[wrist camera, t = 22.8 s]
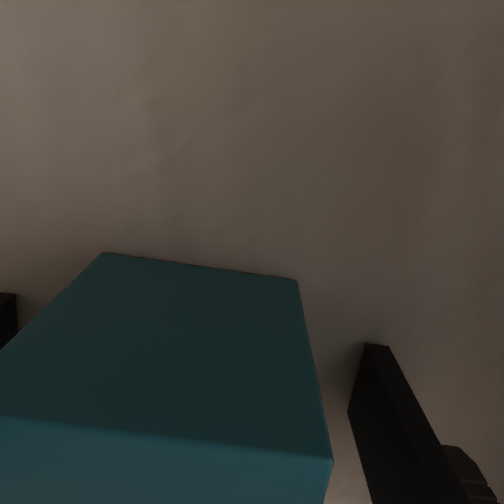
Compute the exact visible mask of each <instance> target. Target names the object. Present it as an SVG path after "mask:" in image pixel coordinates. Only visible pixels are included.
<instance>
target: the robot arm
mask: <svg viewBox="0 0 504 504" xmlns="http://www.w3.org/2000/svg"><path fill="white" fill-rule="evenodd" d="M17 334H18V329H17V304H16V295H15V294H8V293H0V350H1V349H2V348H3V347H4V346H5V345H6V344H7V343H8V342H9V341H10V340H11V339H12V338H14V337H15V336H16V335H17ZM347 414H348V418H349V421H350V425H351V428H352V432H353V436H354V439H355V443H356V446H357V450H358V453H359V457H360V461H361V464H362V468H363V471H364V475H365V478H366V482H367V486H368V489H369V493H370V496H371V500H372V503H373V504H500V503H498V502H497V498H496V496H495V494H494V493H493V491H492V489H491V488H490V487H489V486H488V485H487V481H486V479H485V478H484V476H483V474H482V473H481V471H480V469H479V468H478V466H477V464H476V463H475V462H474V461H473V460H472V459H471V458H470V457H469V456H468V455H467V454H466V453H465V452H464V451H463V450H462V449H461V448H460V447H456V446H449V445H441V444H440V443H439V441H438V439H437V437H436V435H435V433H434V431H433V429H432V427H431V426H430V424H429V422H428V420H427V418H426V416H425V414H424V412H423V410H422V408H421V407H420V405H419V403H418V401H417V399H416V397H415V395H414V393H413V391H412V389H411V388H410V386H409V384H408V382H407V380H406V378H405V376H404V374H403V372H402V370H401V369H400V367H399V365H398V363H397V361H396V359H395V357H394V355H393V353H392V352H391V350H390V348H389V346H383V345H376V344H368V343H365V347H364V351H363V354H362V358H361V362H360V366H359V369H358V373H357V377H356V380H355V384H354V388H353V391H352V395H351V399H350V402H349V406H348V410H347Z"/></svg>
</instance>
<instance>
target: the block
mask: <svg viewBox="0 0 504 504" xmlns="http://www.w3.org/2000/svg"><path fill="white" fill-rule="evenodd" d="M333 463H334V459H333V454H332V449H331V444H330V439H329V434H328V429H327V425H326V420H325V415H324V410H323V405H322V400H321V395H320V391H319V386H318V381H317V376H316V371H315V366H314V361H313V357H312V352H311V347H310V342H309V337H308V332H307V327H306V322H305V318H304V313H303V308H302V303H301V298H300V293H299V288H298V284H297V281H296V280H291V279H284V278H277V277H270V276H263V275H256V274H249V273H242V272H235V271H228V270H221V269H214V268H207V267H200V266H193V265H186V264H179V263H172V262H165V261H158V260H151V259H144V258H137V257H130V256H123V255H116V254H109V253H101V254H100V255H99V256H98V257H97V258H96V259H95V260H94V261H93V262H92V263H91V264H90V265H89V266H88V267H87V268H85V269H84V270H83V271H82V272H81V273H80V274H79V275H78V276H77V277H76V278H75V279H74V280H73V281H72V282H71V283H70V284H69V285H68V286H67V287H66V288H65V289H64V290H63V291H61V292H60V293H59V294H58V295H57V296H56V297H55V298H54V299H53V300H52V301H51V302H50V303H49V304H48V305H47V306H46V307H45V308H44V309H43V310H42V311H41V312H40V313H39V314H38V315H36V316H35V317H34V318H33V319H32V320H31V321H30V322H29V323H28V324H27V325H26V326H25V327H24V328H23V329H22V330H21V331H20V332H19V333H18V334H17V335H16V336H15V337H14V338H12V339H11V340H10V341H9V342H8V343H7V344H6V345H5V346H4V347H3V348H2V349H1V350H0V504H323V500H324V496H325V493H326V489H327V485H328V482H329V478H330V474H331V471H332V467H333Z"/></svg>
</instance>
